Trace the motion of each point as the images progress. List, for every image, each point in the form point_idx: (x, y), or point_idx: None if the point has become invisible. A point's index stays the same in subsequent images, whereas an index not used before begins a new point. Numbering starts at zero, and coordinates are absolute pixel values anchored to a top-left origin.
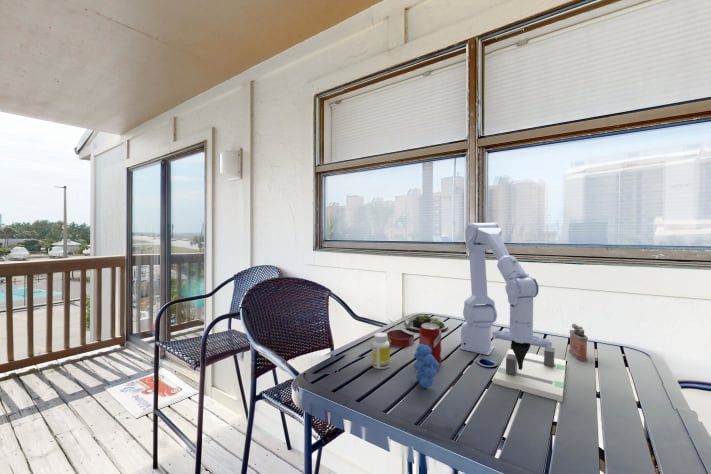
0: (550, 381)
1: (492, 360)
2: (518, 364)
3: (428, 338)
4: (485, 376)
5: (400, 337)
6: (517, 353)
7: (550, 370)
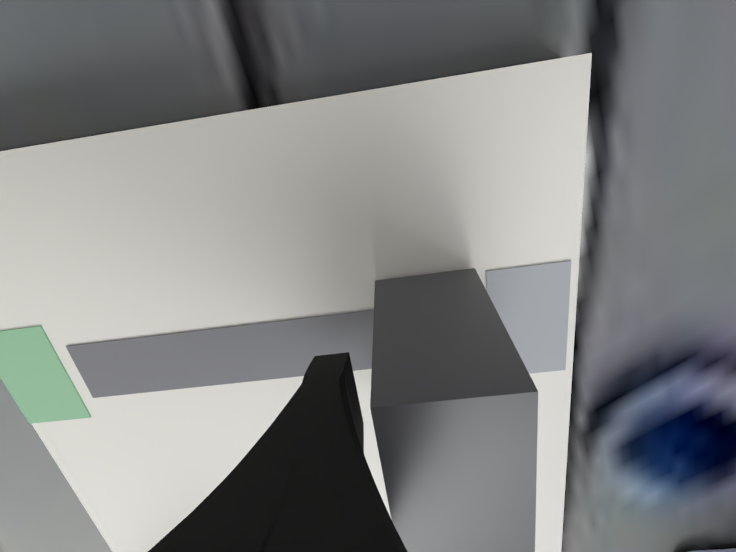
0: (102, 382)
1: (637, 498)
2: (337, 383)
3: None
4: (663, 168)
5: None
6: (315, 547)
7: None
